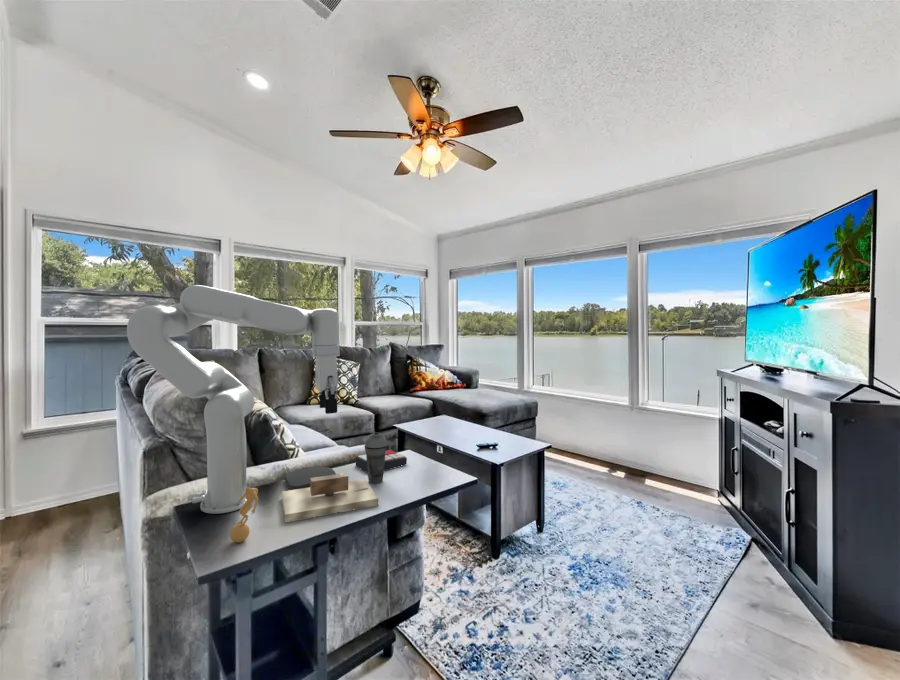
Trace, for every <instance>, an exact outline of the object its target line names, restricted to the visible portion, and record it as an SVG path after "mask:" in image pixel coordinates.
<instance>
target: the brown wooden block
mask: <svg viewBox="0 0 900 680" xmlns="http://www.w3.org/2000/svg"><path fill="white" fill-rule="evenodd" d="M348 482H349V475H348V473H347V472H341V473H338V474H337V473H336V474H335V475H328V476H321V477H314V478H310V493H311V496H316V495H322V494H325V496H332V495H334V492H341V491H347V490H348Z"/></svg>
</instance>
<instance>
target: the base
mask: <svg viewBox="0 0 900 680" xmlns="http://www.w3.org/2000/svg"><path fill="white" fill-rule="evenodd" d="M281 500H282V501H281V502H282V507H283V508H284V509H283V508H282V509H283V516H285V517H284V522H285V523H289V522H290V521H291V522H295V521H300V520H305V519H306V518H307V519H312V518H311V517H313V518H317V517H316V516H318V517H321V516H320V515H323V516H327V515H326V514H329V515H333V514H332V513H334V514H338V513H337V512H340V513H344V512H343V511H345V512H349V511H348V510H351V511H354V510H353V509H356V510H360V508H362V509H366V508H365V507H367V508H372V507H377V506H379V497H378V495H377V494H376V493H375V492H374V490H373V488H372V487H371V485H370V483H369V482H368V481H367V480H366V479H365V478H364V479H363V478H362V479H356V480H351V481H350V480H348V490H347V491H341V492H334V495H332V496H325V494H322V495H316V496H311V493H310V487H309V488H302V489H296V490H289V489H288V490H284V491H282V492H281Z"/></svg>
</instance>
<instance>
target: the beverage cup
mask: <svg viewBox="0 0 900 680" xmlns="http://www.w3.org/2000/svg"><path fill="white" fill-rule="evenodd" d="M371 428H372V433H371V434H369V435H368V436H367V438H366V439H365V442H364V446H363V447H364V451H365V455H366V458H367V471H368V472H367V478H368V484H372V485H378V484H381V483H383V481H384V473H385V472H384V471H385V470H384V463H385V452H386V451H387V447H388V441H387V439H386V437H385V436H384V435H383V434H382V433H380V432H376V431H375V426H374V419H371Z"/></svg>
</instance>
